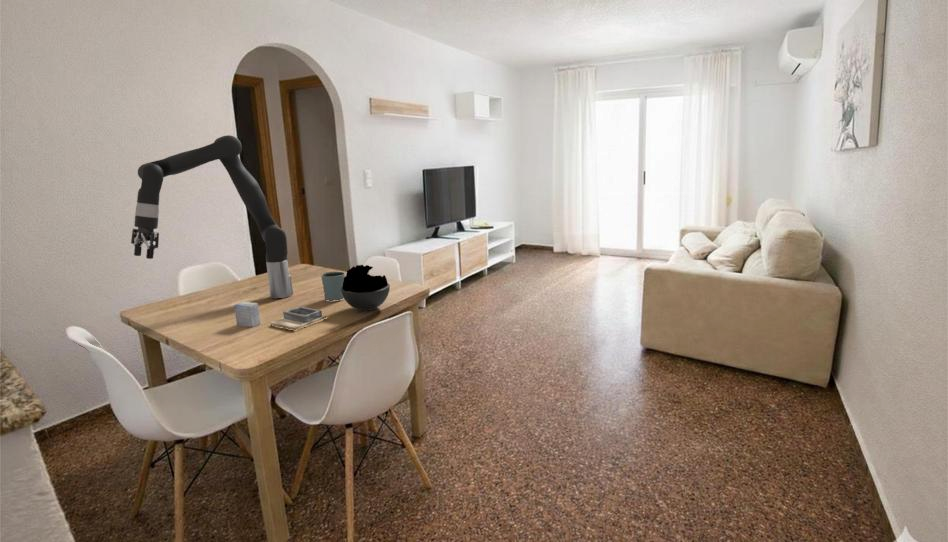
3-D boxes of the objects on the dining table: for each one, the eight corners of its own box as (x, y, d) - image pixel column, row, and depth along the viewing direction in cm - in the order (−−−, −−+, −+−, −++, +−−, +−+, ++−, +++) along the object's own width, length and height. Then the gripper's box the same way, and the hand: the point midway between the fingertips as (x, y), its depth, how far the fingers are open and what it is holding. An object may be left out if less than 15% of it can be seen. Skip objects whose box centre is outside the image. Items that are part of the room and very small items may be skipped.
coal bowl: (368, 300, 223) (365, 259, 219) (400, 306, 212) (398, 264, 208) (332, 311, 207) (328, 268, 203) (365, 320, 196) (362, 274, 192)
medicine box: (261, 324, 194) (258, 302, 192) (252, 327, 190) (249, 306, 188) (245, 322, 197) (242, 301, 195) (236, 325, 193) (233, 304, 191)
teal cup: (319, 301, 223) (316, 275, 220) (333, 295, 232) (330, 270, 229) (337, 303, 219) (335, 277, 216) (351, 297, 228) (349, 272, 225)
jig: (303, 314, 205) (302, 305, 204) (327, 319, 198) (326, 309, 197) (270, 325, 192) (269, 316, 191) (295, 331, 185) (294, 321, 184)
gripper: (167, 218, 191) (163, 259, 192) (146, 214, 197) (143, 255, 199) (147, 216, 184) (143, 259, 185) (126, 212, 191) (122, 254, 192)
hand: (143, 257), depth 192 cm, fingers open, 8 cm apart
